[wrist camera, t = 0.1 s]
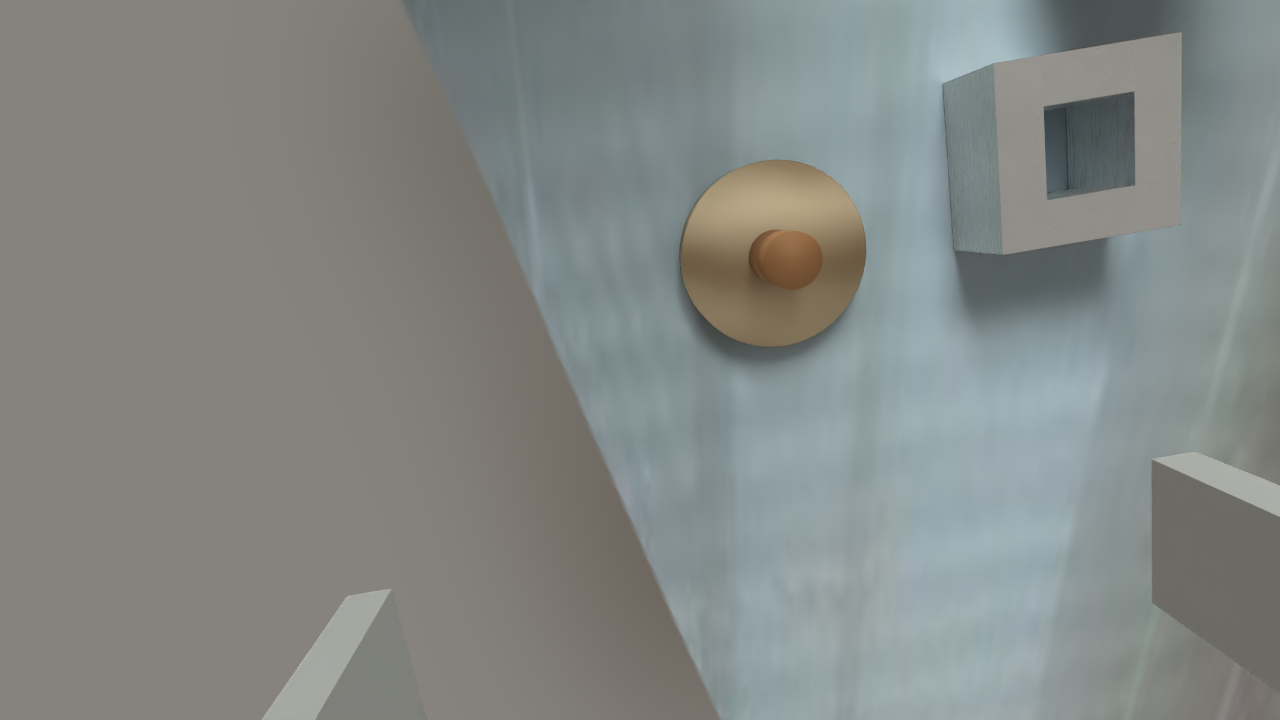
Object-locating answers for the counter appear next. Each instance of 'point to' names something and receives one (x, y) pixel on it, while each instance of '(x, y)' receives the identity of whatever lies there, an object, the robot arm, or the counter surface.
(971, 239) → the white boxy piece
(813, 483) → the counter surface
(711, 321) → the hub
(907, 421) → the counter surface
